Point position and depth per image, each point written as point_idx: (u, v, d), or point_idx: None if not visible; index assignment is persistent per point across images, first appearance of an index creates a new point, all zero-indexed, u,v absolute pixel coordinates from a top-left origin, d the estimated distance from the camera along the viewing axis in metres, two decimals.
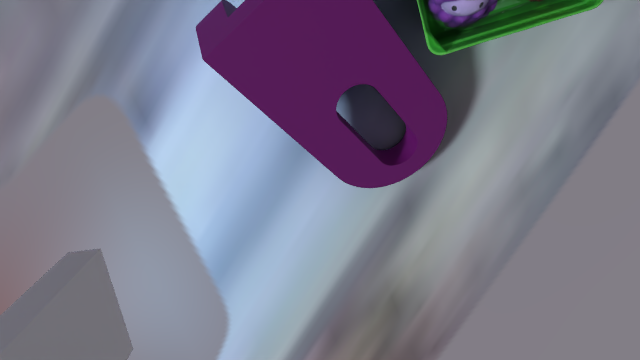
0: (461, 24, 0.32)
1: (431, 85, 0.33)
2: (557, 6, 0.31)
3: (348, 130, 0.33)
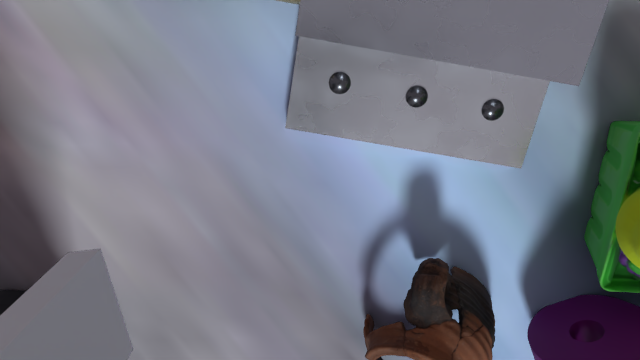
0: None
1: None
2: None
3: None
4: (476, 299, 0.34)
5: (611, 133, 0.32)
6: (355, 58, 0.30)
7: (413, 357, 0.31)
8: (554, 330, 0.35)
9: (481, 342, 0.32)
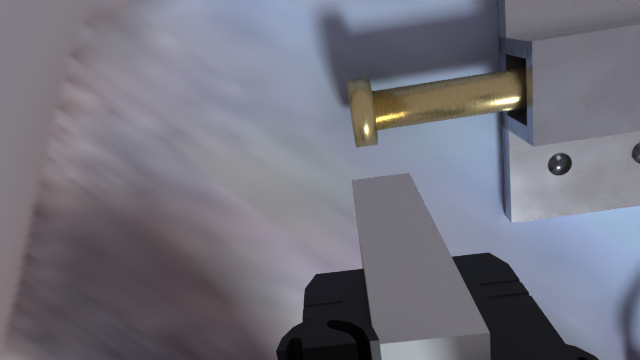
0: None
1: None
2: None
3: None
4: None
5: None
6: None
7: None
8: None
9: None
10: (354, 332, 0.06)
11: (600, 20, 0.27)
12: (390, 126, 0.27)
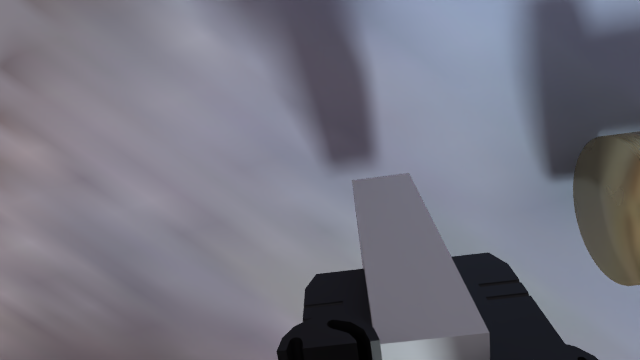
0: None
1: None
2: None
3: None
4: None
5: None
6: None
7: None
8: None
9: None
10: (355, 332, 0.06)
11: None
12: None
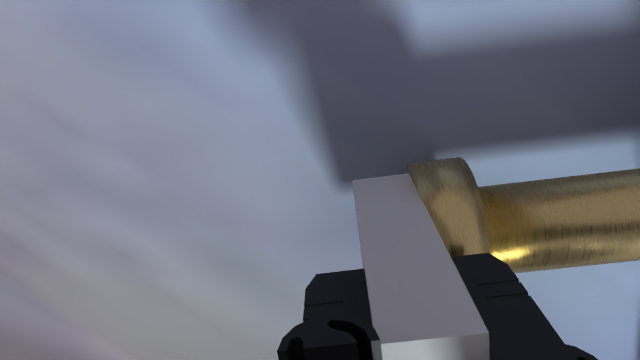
0: None
1: None
2: None
3: None
4: None
5: None
6: None
7: None
8: None
9: None
10: (355, 332, 0.06)
11: None
12: None
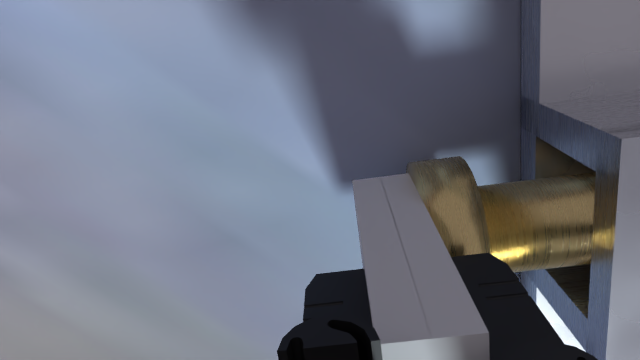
0: None
1: None
2: None
3: None
4: None
5: None
6: None
7: None
8: None
9: None
10: (354, 332, 0.06)
11: None
12: None
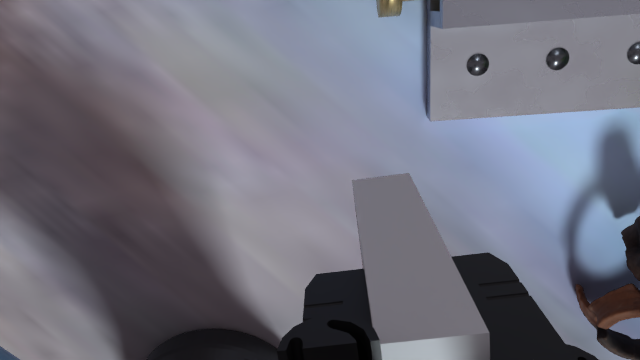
0: None
1: None
2: None
3: None
4: None
5: None
6: (489, 37, 0.30)
7: None
8: None
9: None
10: (355, 332, 0.06)
11: None
12: None
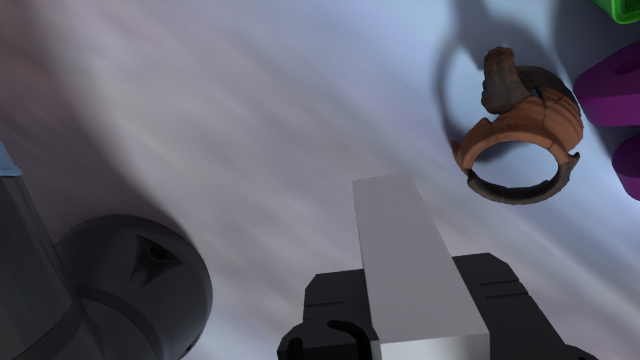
0: None
1: None
2: None
3: None
4: (549, 80, 0.35)
5: None
6: None
7: (506, 138, 0.32)
8: (599, 78, 0.35)
9: (567, 108, 0.33)
10: (354, 332, 0.06)
11: None
12: None
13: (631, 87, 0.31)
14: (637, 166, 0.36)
